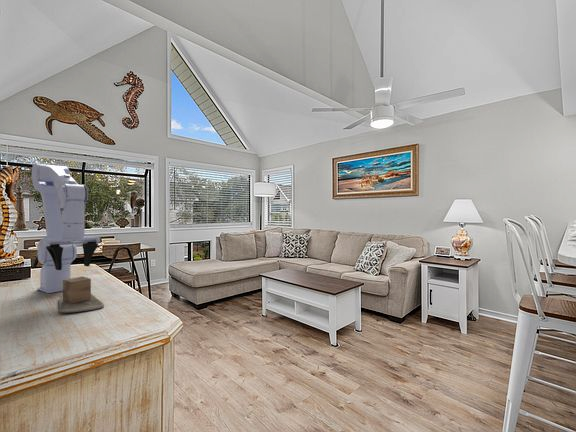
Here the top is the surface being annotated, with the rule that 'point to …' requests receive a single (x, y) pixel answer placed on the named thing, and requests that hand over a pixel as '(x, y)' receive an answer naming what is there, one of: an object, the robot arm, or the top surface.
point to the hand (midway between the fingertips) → (73, 267)
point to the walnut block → (76, 289)
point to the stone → (80, 305)
